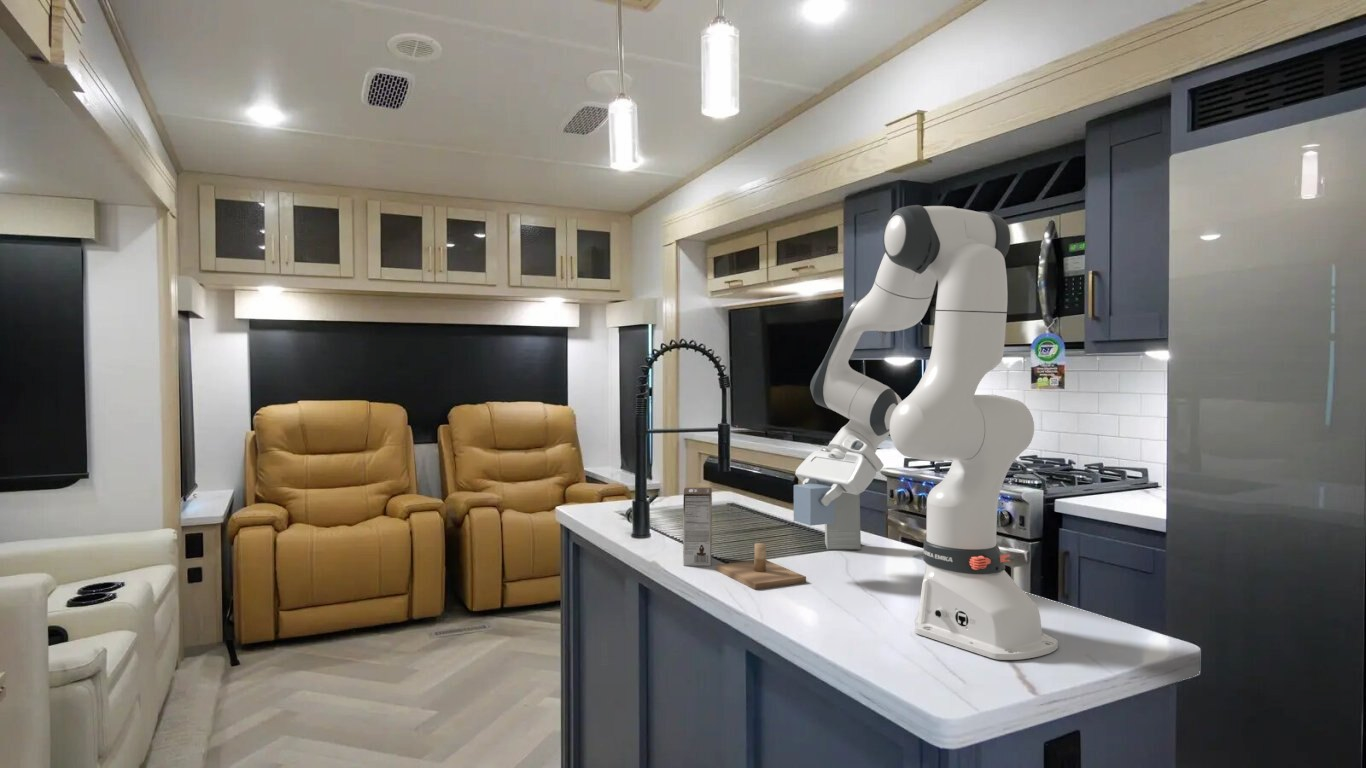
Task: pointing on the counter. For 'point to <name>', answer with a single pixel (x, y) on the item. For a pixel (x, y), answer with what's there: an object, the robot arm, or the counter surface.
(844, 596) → the counter surface
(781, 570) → the post base
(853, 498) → the skincare box
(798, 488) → the pale blue cube
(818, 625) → the counter surface
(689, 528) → the coffee box
